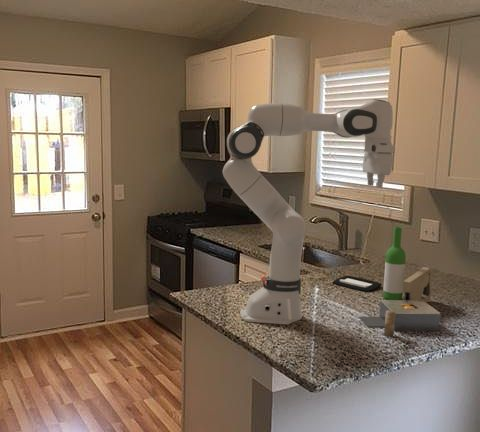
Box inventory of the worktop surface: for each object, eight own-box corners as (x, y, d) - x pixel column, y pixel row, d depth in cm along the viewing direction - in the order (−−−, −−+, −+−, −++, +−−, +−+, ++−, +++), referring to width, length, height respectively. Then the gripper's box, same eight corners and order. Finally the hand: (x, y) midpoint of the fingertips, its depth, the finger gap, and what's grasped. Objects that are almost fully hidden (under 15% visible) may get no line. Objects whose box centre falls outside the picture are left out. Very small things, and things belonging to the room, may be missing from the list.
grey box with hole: (393, 330, 178) (394, 312, 177) (379, 316, 192) (380, 300, 191) (438, 330, 179) (440, 312, 178) (421, 317, 193) (423, 300, 192)
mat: (367, 327, 180) (367, 326, 180) (358, 317, 190) (359, 316, 190) (390, 327, 181) (390, 326, 181) (380, 317, 191) (380, 316, 191)
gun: (424, 299, 216) (426, 264, 213) (432, 300, 214) (434, 265, 211) (400, 318, 198) (402, 280, 194) (408, 320, 196) (410, 282, 192)
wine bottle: (380, 300, 212) (386, 227, 208) (384, 295, 219) (389, 225, 215) (400, 303, 209) (406, 229, 205) (403, 298, 216) (409, 226, 212)
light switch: (329, 280, 235) (346, 272, 245) (329, 286, 235) (346, 278, 245) (368, 289, 221) (384, 281, 231) (368, 296, 222) (384, 287, 232)
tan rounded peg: (385, 336, 172) (387, 313, 171) (382, 333, 175) (384, 310, 174) (394, 336, 172) (396, 313, 171) (391, 333, 175) (393, 310, 174)
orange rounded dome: (405, 314, 183) (406, 309, 182) (401, 310, 187) (401, 305, 186) (416, 314, 183) (417, 309, 183) (412, 311, 187) (412, 305, 187)
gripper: (359, 146, 192) (357, 183, 194) (378, 147, 172) (375, 189, 174) (376, 147, 193) (373, 184, 195) (396, 147, 173) (393, 189, 175)
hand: (374, 186), depth 184 cm, fingers open, 8 cm apart
